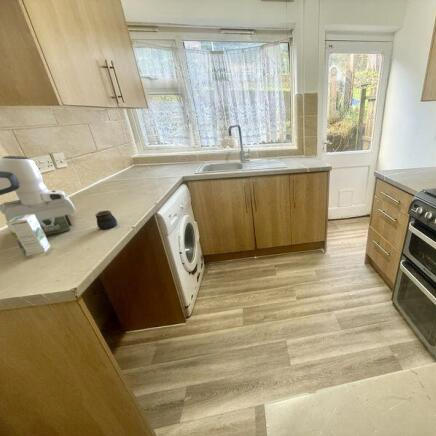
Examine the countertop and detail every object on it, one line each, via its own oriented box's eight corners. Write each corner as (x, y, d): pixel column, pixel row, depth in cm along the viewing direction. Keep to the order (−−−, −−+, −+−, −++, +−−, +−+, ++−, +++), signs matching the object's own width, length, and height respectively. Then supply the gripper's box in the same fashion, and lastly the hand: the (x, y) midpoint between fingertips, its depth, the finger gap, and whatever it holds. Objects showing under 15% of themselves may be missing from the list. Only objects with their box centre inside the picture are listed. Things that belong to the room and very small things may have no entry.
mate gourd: (117, 223, 115) (109, 204, 111) (120, 228, 110) (112, 208, 106) (99, 228, 111) (90, 208, 107) (101, 234, 106) (91, 213, 102)
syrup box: (33, 250, 94) (13, 216, 88) (52, 246, 96) (34, 213, 90) (26, 258, 89) (4, 222, 83) (46, 253, 91) (26, 219, 85)
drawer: (70, 233, 105) (64, 219, 103) (34, 242, 98) (26, 227, 96) (69, 220, 119) (63, 207, 116) (37, 227, 112) (30, 213, 109)
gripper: (-5, 205, 88) (13, 239, 94) (68, 193, 101) (80, 223, 106) (-2, 201, 92) (15, 234, 98) (67, 190, 105) (79, 219, 110)
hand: (50, 228), depth 102 cm, fingers closed, pressing on drawer
